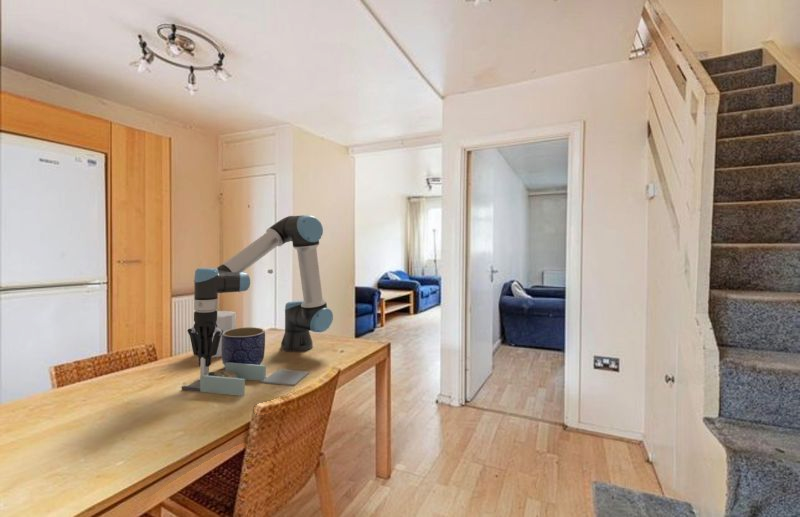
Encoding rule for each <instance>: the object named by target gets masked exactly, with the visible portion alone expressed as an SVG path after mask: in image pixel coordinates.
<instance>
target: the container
mask: <svg viewBox="0 0 800 517" xmlns="http://www.w3.org/2000/svg"><path fill="white" fill-rule="evenodd" d="M216 311H217V321H216V324H217V328H218V329H220V330H223V332H224V331H226V330H230V329H235V328H237V312H236V311H230V310H216ZM214 333H215V332H214ZM214 333H213V337H214ZM221 336H222V335H221ZM212 341H213V338H212ZM220 357H221V358H222V354H221V337H220V341H219V345H218V349H217V353H216V355H214V356H212V357H211V358H220Z"/></svg>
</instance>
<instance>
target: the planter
mask: <svg viewBox="0 0 800 517" xmlns="http://www.w3.org/2000/svg"><path fill="white" fill-rule="evenodd" d="M265 350H266V331H265V329H263V328H260V327H250V326H249V327H244V326H243V327H236V328H235V329H230V330H226V331H224V332H223V333H222V336H221V354H222V357H221V362H222V364H223V366H224V367H225V363H226V362H230V363H242V364H254V365H262V363H263V360H264V358H265V352H266V351H265Z"/></svg>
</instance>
